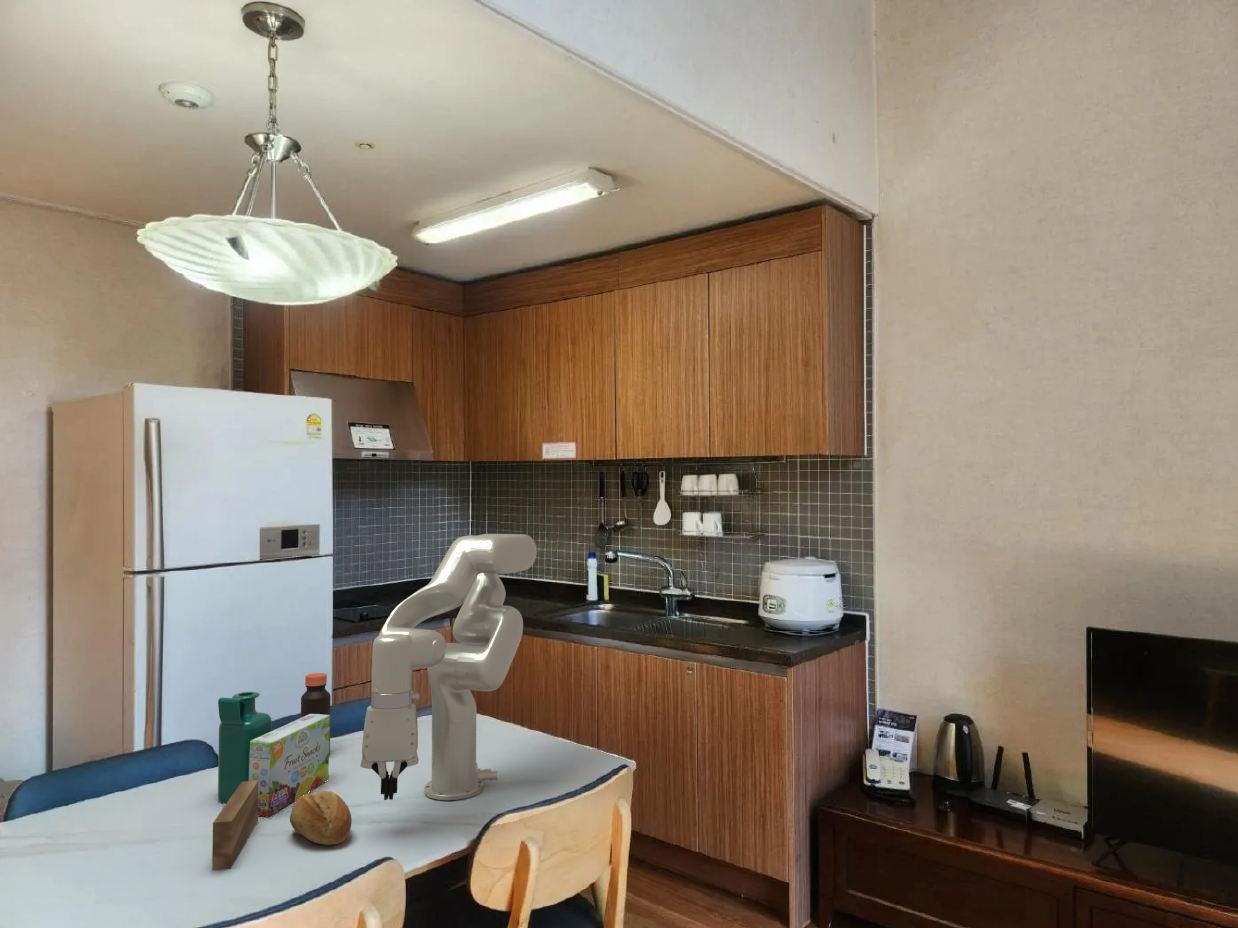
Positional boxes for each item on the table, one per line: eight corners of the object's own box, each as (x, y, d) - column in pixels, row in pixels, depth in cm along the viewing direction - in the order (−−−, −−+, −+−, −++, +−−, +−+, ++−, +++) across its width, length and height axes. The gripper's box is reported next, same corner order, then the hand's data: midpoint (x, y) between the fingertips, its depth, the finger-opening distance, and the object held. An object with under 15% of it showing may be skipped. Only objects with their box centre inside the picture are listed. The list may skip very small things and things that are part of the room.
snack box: (271, 818, 157) (272, 741, 158) (246, 816, 158) (247, 740, 159) (330, 780, 178) (331, 713, 178) (308, 778, 179) (308, 711, 180)
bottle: (294, 758, 193) (295, 675, 193) (319, 750, 198) (319, 670, 199) (311, 763, 189) (312, 679, 190) (335, 755, 194) (336, 674, 195)
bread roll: (313, 857, 140) (314, 812, 140) (277, 833, 150) (277, 790, 150) (363, 840, 147) (364, 796, 147) (325, 818, 157) (325, 777, 157)
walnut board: (257, 821, 155) (258, 780, 156) (231, 868, 136) (231, 820, 136) (241, 822, 155) (241, 781, 155) (212, 869, 135) (212, 822, 136)
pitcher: (240, 787, 173) (241, 686, 174) (274, 790, 172) (276, 688, 173) (208, 805, 164) (210, 698, 165) (244, 808, 162) (246, 700, 163)
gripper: (431, 693, 157) (429, 788, 156) (353, 696, 154) (350, 793, 153) (431, 702, 150) (428, 801, 149) (348, 705, 147) (345, 807, 145)
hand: (388, 797), depth 151 cm, fingers closed
